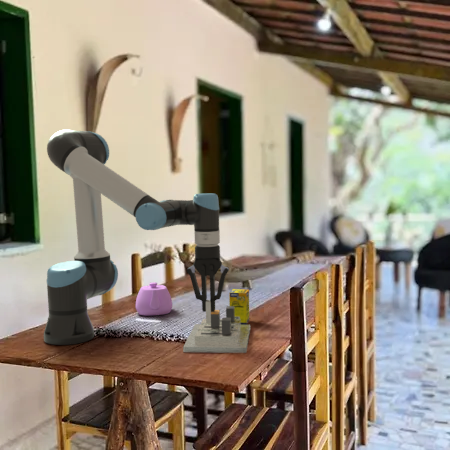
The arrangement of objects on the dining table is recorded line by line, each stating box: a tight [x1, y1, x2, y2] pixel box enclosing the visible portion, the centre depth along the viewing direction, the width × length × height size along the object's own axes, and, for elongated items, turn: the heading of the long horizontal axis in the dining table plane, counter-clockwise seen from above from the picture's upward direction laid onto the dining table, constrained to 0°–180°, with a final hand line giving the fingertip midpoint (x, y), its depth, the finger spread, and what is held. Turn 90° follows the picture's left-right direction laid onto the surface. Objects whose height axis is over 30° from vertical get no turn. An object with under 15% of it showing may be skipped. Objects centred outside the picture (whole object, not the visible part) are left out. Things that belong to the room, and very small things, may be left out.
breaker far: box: [225, 305, 235, 321], centre depth 180 cm, size 2×3×4 cm
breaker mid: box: [211, 309, 221, 327], centre depth 174 cm, size 2×3×4 cm
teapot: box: [135, 282, 173, 316], centre depth 208 cm, size 13×20×11 cm
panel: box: [182, 318, 251, 354], centre depth 174 cm, size 18×24×4 cm
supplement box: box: [228, 288, 250, 325], centre depth 193 cm, size 6×6×11 cm
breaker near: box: [221, 317, 231, 334], centre depth 167 cm, size 2×3×4 cm
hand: (209, 321), depth 174 cm, fingers closed
